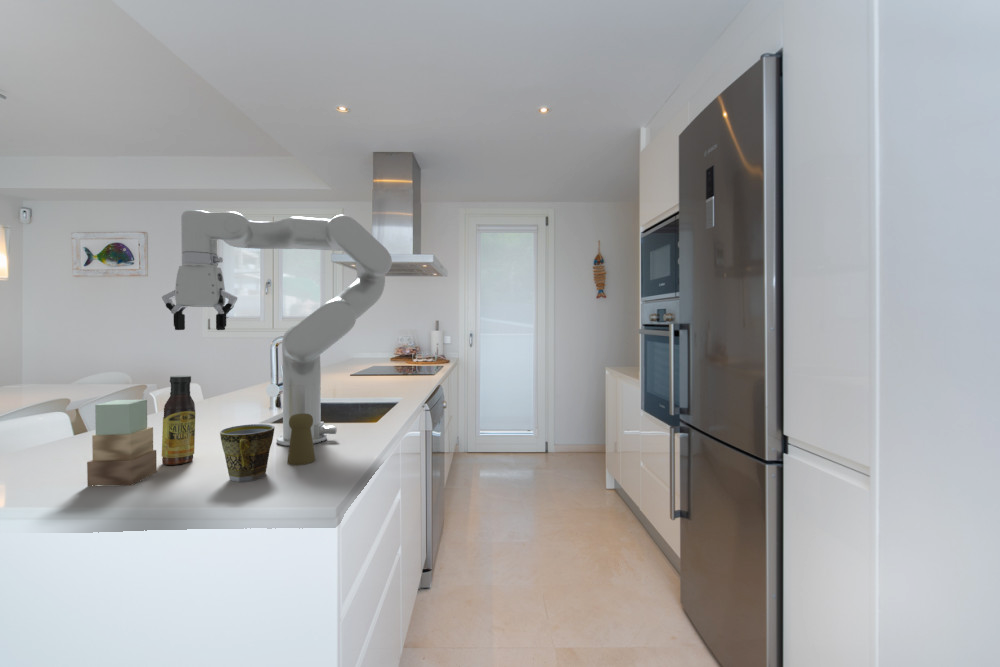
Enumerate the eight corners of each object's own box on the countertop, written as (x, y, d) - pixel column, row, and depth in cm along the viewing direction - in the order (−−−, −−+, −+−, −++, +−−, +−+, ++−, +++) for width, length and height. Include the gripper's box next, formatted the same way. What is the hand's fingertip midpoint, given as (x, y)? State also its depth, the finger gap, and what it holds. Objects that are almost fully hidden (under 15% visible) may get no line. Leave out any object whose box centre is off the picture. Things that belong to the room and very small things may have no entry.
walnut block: (156, 473, 101) (156, 449, 101) (131, 485, 93) (131, 460, 93) (115, 474, 100) (115, 451, 100) (87, 487, 92) (87, 462, 92)
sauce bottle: (167, 468, 104) (166, 378, 103) (157, 463, 107) (156, 376, 107) (200, 461, 109) (199, 375, 109) (189, 456, 113) (189, 373, 112)
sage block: (147, 427, 99) (147, 399, 99) (129, 434, 93) (128, 404, 93) (115, 428, 99) (115, 400, 98) (95, 435, 93) (95, 404, 93)
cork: (320, 458, 112) (319, 411, 112) (307, 465, 106) (306, 416, 106) (295, 457, 112) (295, 411, 112) (281, 464, 106) (281, 416, 106)
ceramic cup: (225, 472, 101) (224, 425, 101) (276, 467, 104) (276, 422, 104) (212, 492, 89) (212, 439, 88) (271, 486, 92) (270, 435, 92)
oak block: (153, 450, 100) (153, 427, 100) (130, 459, 93) (130, 434, 93) (118, 451, 100) (117, 427, 99) (92, 460, 93) (92, 435, 92)
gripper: (242, 264, 122) (243, 329, 122) (171, 263, 120) (172, 329, 121) (229, 260, 115) (229, 330, 115) (153, 258, 113) (154, 330, 113)
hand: (200, 329), depth 118 cm, fingers open, 9 cm apart
